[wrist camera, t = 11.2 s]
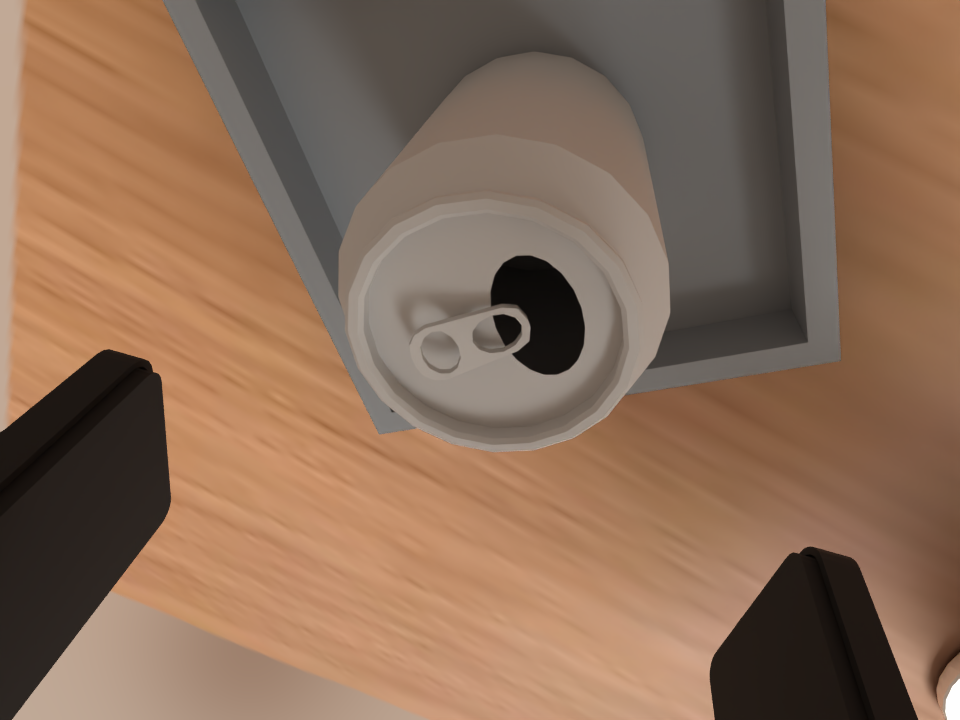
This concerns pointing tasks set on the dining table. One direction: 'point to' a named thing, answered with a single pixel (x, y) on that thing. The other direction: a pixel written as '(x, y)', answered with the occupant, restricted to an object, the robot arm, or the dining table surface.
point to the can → (510, 260)
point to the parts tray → (637, 77)
